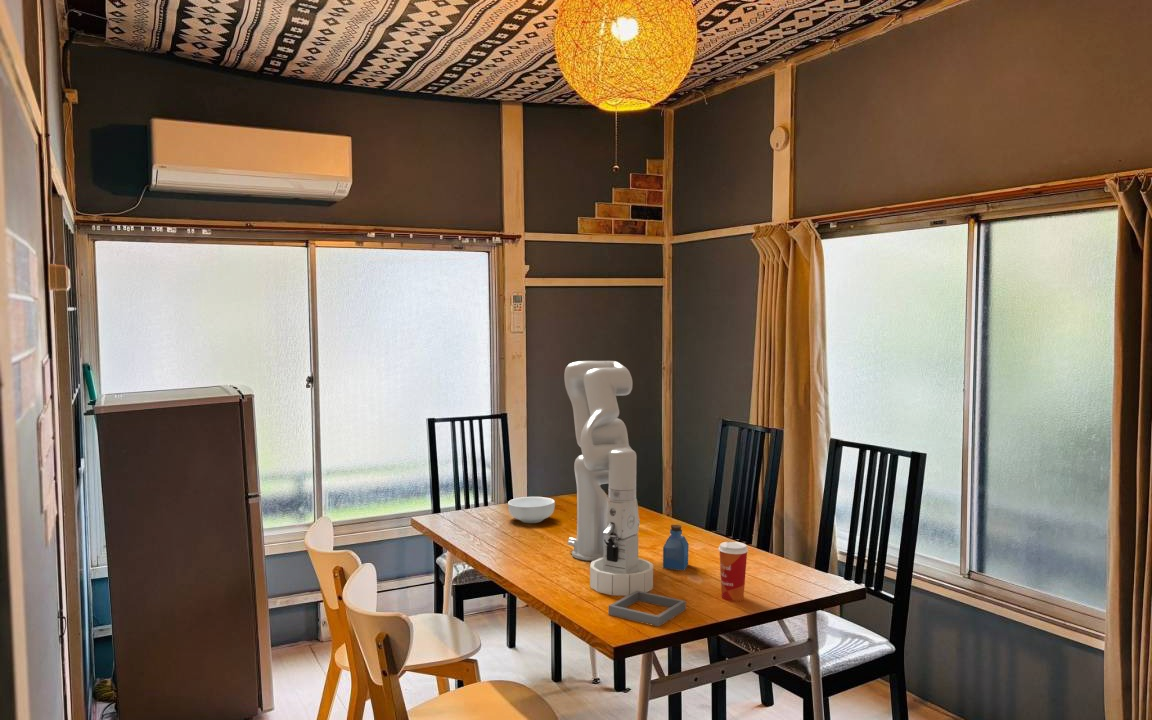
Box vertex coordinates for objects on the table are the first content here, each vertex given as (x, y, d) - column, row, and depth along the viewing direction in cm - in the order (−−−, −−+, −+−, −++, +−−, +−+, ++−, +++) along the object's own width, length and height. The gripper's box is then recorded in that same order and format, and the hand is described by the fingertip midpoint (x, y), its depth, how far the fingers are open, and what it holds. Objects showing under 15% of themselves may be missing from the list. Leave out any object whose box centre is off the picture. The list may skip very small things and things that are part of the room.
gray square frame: (608, 614, 204) (608, 605, 203) (637, 598, 215) (637, 590, 215) (658, 626, 196) (658, 617, 196) (685, 609, 207) (685, 601, 207)
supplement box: (615, 575, 231) (615, 530, 230) (639, 580, 227) (639, 534, 226) (602, 582, 225) (602, 536, 224) (626, 587, 221) (626, 540, 220)
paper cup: (714, 593, 220) (715, 541, 219) (742, 592, 220) (743, 540, 220) (722, 603, 212) (722, 549, 211) (751, 602, 213) (752, 548, 212)
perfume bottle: (688, 564, 245) (688, 524, 245) (683, 570, 239) (684, 529, 239) (667, 562, 247) (668, 522, 247) (663, 568, 242) (663, 527, 241)
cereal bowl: (528, 512, 309) (528, 494, 309) (564, 519, 299) (564, 500, 299) (498, 521, 295) (498, 502, 295) (534, 528, 286) (534, 508, 285)
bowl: (578, 587, 224) (578, 567, 223) (611, 571, 238) (611, 552, 237) (632, 599, 214) (632, 578, 214) (664, 582, 228) (664, 563, 228)
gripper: (617, 502, 215) (616, 567, 216) (650, 490, 230) (649, 551, 231) (593, 498, 220) (592, 562, 221) (626, 487, 234) (626, 547, 235)
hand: (621, 556), depth 226 cm, fingers open, 9 cm apart
